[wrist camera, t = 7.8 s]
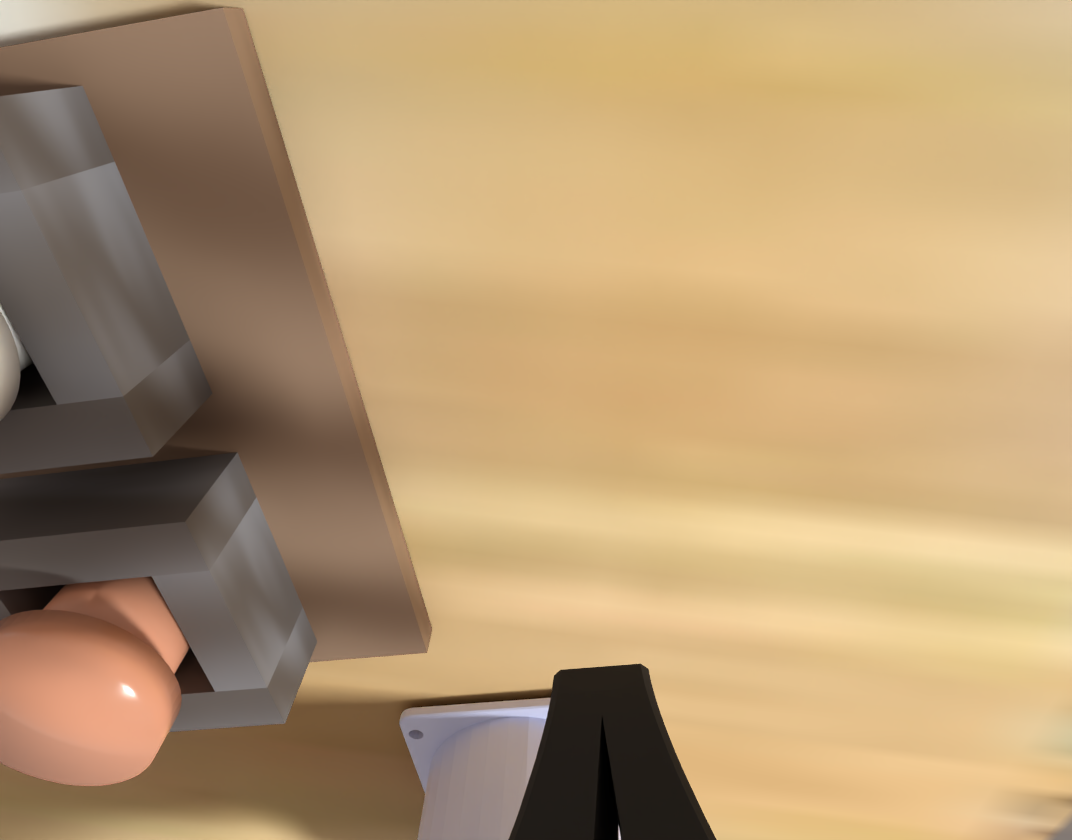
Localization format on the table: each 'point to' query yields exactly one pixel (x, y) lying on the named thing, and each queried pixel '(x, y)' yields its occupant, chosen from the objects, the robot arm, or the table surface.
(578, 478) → the table surface
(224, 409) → the board
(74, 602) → the rust plunger
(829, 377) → the table surface
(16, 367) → the pale plunger
